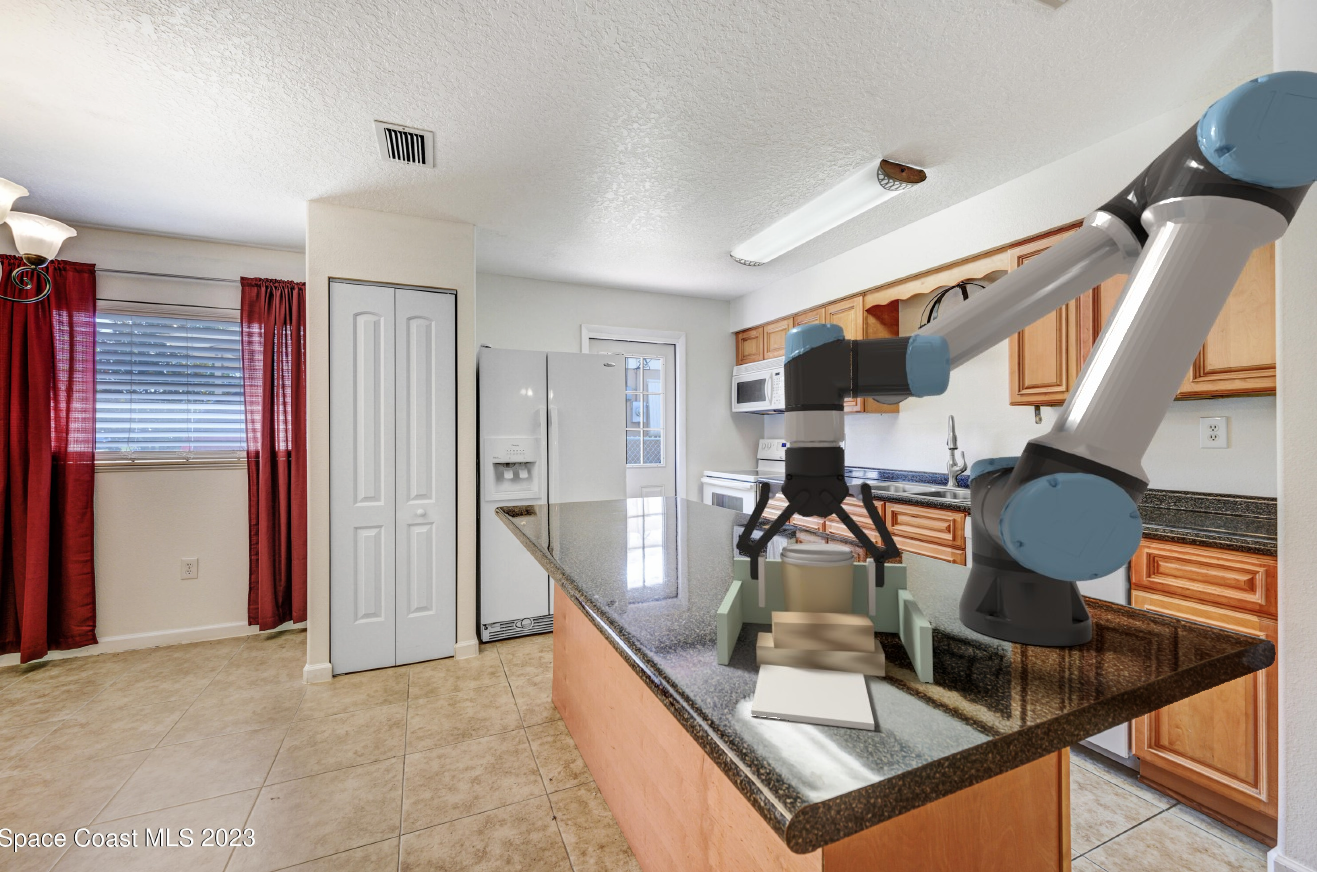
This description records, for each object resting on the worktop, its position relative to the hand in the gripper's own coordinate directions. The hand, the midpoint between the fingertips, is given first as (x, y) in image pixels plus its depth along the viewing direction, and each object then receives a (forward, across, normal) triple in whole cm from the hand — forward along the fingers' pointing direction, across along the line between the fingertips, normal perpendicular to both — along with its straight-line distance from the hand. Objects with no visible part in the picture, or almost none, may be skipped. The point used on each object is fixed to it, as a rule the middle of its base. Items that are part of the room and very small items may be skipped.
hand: (815, 608), depth 72 cm
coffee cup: (+4, 0, 0) cm, 5 cm away
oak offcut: (+2, -1, +7) cm, 8 cm away
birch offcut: (+5, 0, +7) cm, 9 cm away
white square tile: (+4, +1, +16) cm, 17 cm away
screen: (+4, 0, +2) cm, 5 cm away
